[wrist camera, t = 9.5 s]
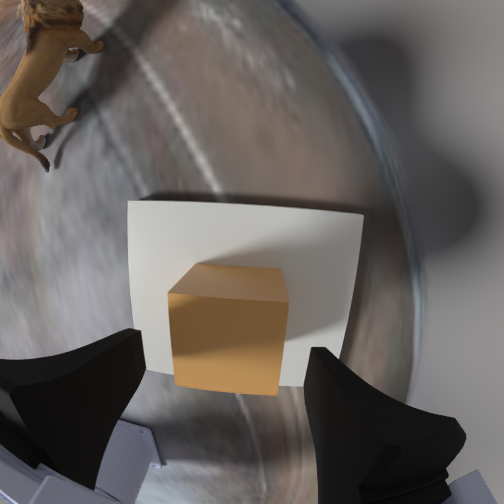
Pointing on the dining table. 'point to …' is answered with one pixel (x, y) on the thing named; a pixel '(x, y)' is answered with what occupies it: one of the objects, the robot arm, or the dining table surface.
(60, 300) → the dining table surface
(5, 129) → the lion figurine
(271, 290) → the orange cube
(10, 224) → the dining table surface
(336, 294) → the plate
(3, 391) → the robot arm
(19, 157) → the dining table surface
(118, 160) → the dining table surface
